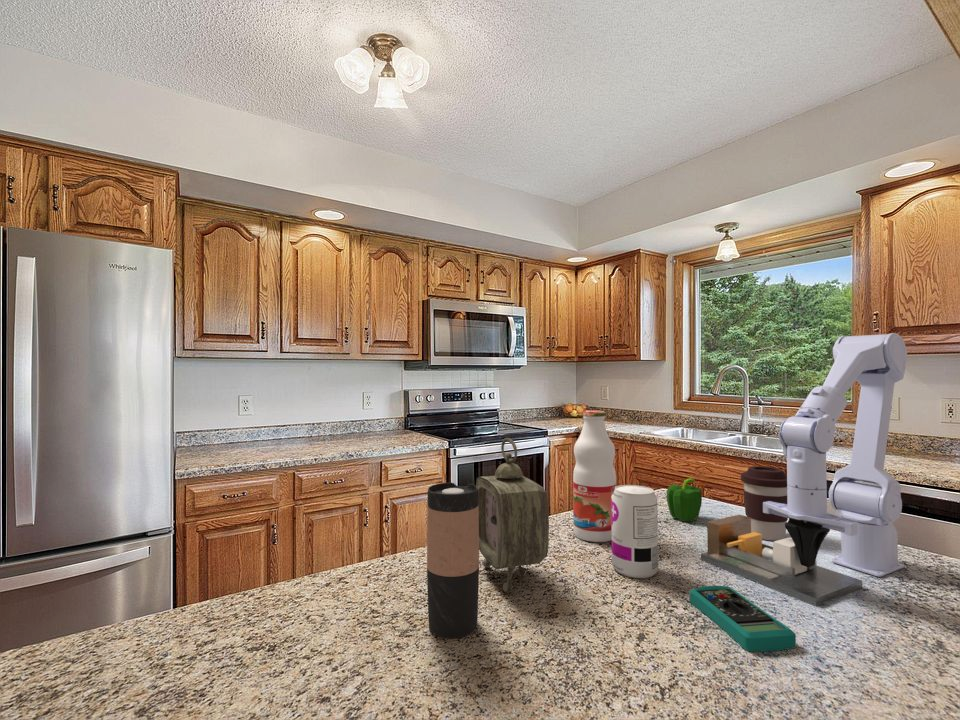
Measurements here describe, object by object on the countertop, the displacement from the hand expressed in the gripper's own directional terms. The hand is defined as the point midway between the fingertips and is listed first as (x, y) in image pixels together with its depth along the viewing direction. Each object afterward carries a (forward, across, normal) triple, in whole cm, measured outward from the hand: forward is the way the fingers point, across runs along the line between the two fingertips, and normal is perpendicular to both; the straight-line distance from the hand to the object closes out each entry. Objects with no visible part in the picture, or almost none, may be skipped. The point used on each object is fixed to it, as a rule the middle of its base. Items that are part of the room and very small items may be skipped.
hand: (807, 564), depth 85 cm
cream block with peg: (+2, -4, 0) cm, 5 cm away
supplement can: (+4, -18, -22) cm, 29 cm away
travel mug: (+4, -16, -60) cm, 62 cm away
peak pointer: (+2, -10, -2) cm, 11 cm away
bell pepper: (+4, -36, +12) cm, 38 cm away
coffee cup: (+4, -18, +18) cm, 26 cm away
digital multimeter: (+4, +2, -22) cm, 23 cm away
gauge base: (+3, -6, 0) cm, 6 cm away
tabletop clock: (+4, -26, -44) cm, 51 cm away
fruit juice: (+4, -36, -16) cm, 40 cm away
